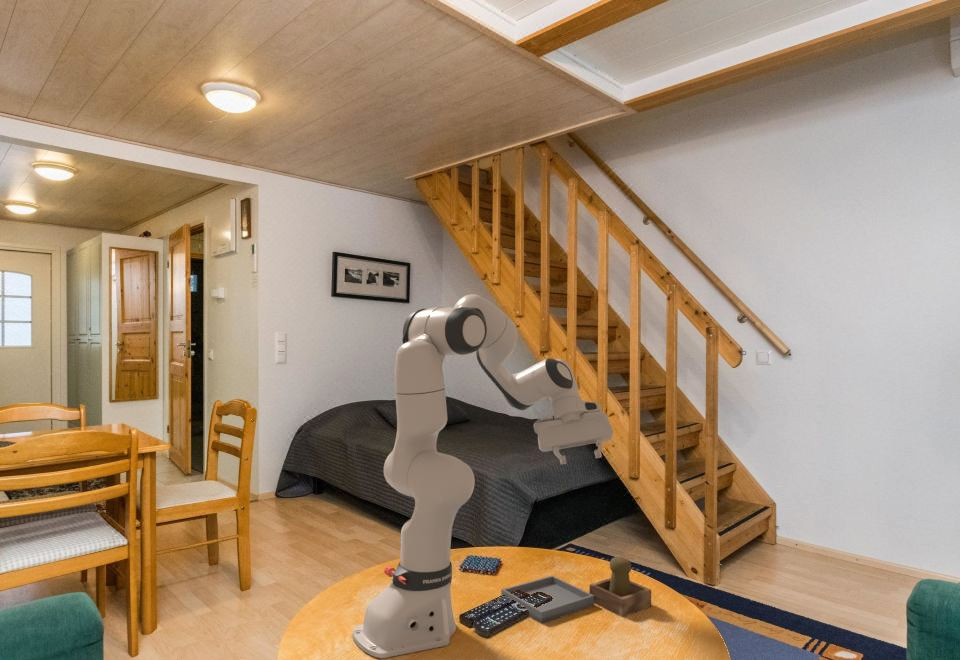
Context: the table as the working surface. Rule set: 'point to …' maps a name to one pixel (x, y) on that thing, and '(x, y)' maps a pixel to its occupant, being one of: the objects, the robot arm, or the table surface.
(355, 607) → the table surface
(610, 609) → the holder
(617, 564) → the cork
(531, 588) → the tray
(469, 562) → the woven mat
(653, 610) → the table surface
